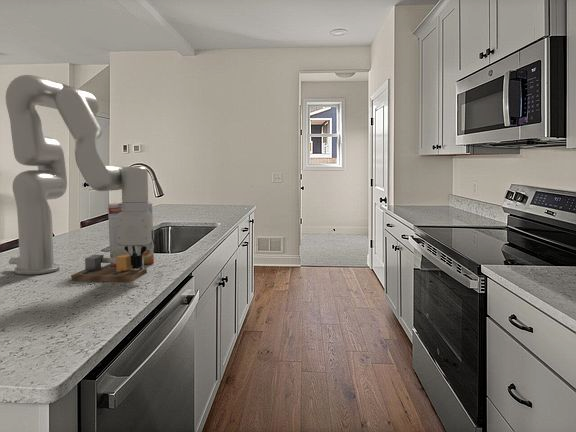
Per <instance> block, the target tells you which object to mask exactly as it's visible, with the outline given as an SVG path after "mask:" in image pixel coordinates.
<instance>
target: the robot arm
mask: <svg viewBox="0 0 576 432" xmlns="http://www.w3.org/2000/svg"><path fill="white" fill-rule="evenodd" d="M5 104H6V110H7V114H8V117H9V123H10V134H11V140H12V148H13V149H12V150H13V154H14V155H13V156H14V159H15V160H16V162H18V164H20V165H23V166H29V167H30V166H31V167H37V169H36V170H35V169H34V170H33V169H32V170H23V171H21V172H19V173H18V174H17V175H16V176H15V177H14V179H13V180H12V185H11V186H12V192H13V196H14V200H15V205H16V213H17V224H18V225H17V227H18V228H17V230H18V249H19V250H18V251H19V253H18V254H19V256H18V257H15V256H14V257H10V259H9V260H8V265H16V267H15V268H14V273H15V274H17V275H27V276H30V275H42V274H48V273H54V272H56V271H58V270H60V265H59V264H57V263H55V260H54V237H53V236H54V235H53V215H52V210H51V207H50V205H49V202H48V201H49V200H56V199H60V198H61V197H63V196H64V195H65V193H66V192H67V187H68V179H67V170H66V160H65V153H64V150H63V147H62V146H61V144H60V142H59V141H58V140H56V139H54V138H53V137H51V136H50V137H49V136H44V133H43V125H42V121H41V116H40V115H39V113H38V111H37V109H36V108H35V106H39V107H46V108H51V109H55V110H57V111H58V113H59V115H60V116H61V118H62V120H63V122H64V124H65V125H66V128H67V130H68V131H69V133H70V135H71V137H72V139H73V140H74V156H75V157H74V158H75V163H76V166H77V167H78V170H79V171H80V172H79V173H80V174H81V176H82V177H83V180H84V181H85V182H86V183H87V185H88V186H89V187H90V188H91V189H92V190H95V191H96V192H107V191H108V192H109V191H110V192H112V191H121V202H120V203H121V204H118V208H121V209H122V212H120V213H119V217H118V225H117V243H118V244H119V245H118V248H120V249H124V250H126V251H127V252H128V253H129V255H130V256H131V268H132V269H135V268H136V269H138V268H140V267H141V265H142V254H143V253H144V252H145V251H146V250H150V249H153V250H154V249H155V244H154V242H155V232H154V230H155V229H154V224H153V222H154V221H153V222H152V217H151V213H150V212H148V202H149V183H148V182H149V173H148V169H147V168H146V167H144V166H122V165H121V166H120V165H108V164H104V162H103V160H102V158H101V156H100V154H99V152H98V148H97V143H98V140H99V139H100V138H101V137H102V135H103V130H102V128H101V126H100V124H99V122H98V120H97V117H96V116H97V114H98V112H99V108H100V107H99V106H100V105H99V103H98V100H97V98H96V97H95V96H94V95H93V94H92V93H91V92H89V91H87V90H83V89H78V88H76V87H73V86H70V85H68V84H64V83H62V82H59V81H57V80H51V79H49V78H45V77H43V76H42V77H41V76H37V75H32V74H22V75H19V76H17V77H15V78H13V80H11V81H10V83H9V84H8V85H7V88H6V90H5ZM147 245H148V246H147ZM135 246H137V253H136V248H135Z"/></svg>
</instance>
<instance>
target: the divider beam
mask: <svg viewBox="0 0 576 432" xmlns="http://www.w3.org/2000/svg"><path fill="white" fill-rule="evenodd" d="M110 263H116V258H110V257H104V254H92V255H90V256H88V257H85V258H84V266H85V268H84V270H85V271H84V274H86V273H89V272H95V271H97V270H100V269H101V267H102V264H110ZM144 268H145V264H144V259H142V265H141V267H140V268H139V269H144Z"/></svg>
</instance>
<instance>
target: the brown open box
mask: <svg viewBox="0 0 576 432" xmlns="http://www.w3.org/2000/svg"><path fill="white" fill-rule="evenodd" d="M116 270H117V269H116V266H114V267H112V266H108V267H107V266H101V269H100V270H97V271H95V272H89V273H86V274H84V271H85V269H81V271H78V272H76V273H75V272H74V273H73V274H71V275H70V278H71V279H70V280H71V281H80V282H82V281H83V282H84V281H85V282H87V281H88V282H116V283H117V282H118V283H120V282H121V283H122V282H123V283H133V282H134V281H135V280H137V279H139V278H140V277H142V276H143V275H146V274H147V273H148V272H147V271H148V270H147V267H146V268H145V267H144V269H139V268H138V269H136V268H135V269H132V267H131V268H130V269H128V270H122V271H120V272H118V273H116V272H115V271H116Z"/></svg>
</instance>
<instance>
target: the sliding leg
mask: <svg viewBox="0 0 576 432" xmlns="http://www.w3.org/2000/svg"><path fill="white" fill-rule="evenodd" d="M115 267H116V269H117V270H116V271H115V272H116V273H118V272H120V271H122V270H128V269H130V268H132V265H131V256H130V255H129V254H124V255H120V256H117V257H116V266H115Z"/></svg>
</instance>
